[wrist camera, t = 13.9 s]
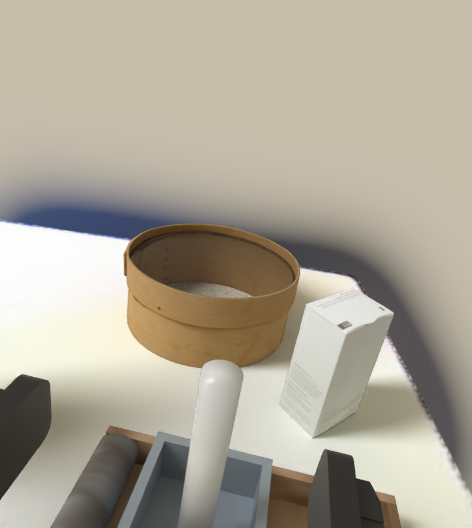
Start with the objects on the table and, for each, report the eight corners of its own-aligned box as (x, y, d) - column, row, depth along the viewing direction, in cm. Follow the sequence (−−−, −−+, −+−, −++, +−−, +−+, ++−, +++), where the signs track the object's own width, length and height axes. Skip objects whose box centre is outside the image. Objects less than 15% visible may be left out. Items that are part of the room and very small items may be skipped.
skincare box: (322, 384, 55) (353, 284, 48) (359, 415, 51) (398, 310, 44) (275, 407, 50) (303, 299, 43) (312, 443, 46) (349, 330, 39)
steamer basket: (84, 326, 58) (86, 251, 53) (180, 268, 79) (187, 211, 75) (245, 400, 50) (263, 320, 46) (303, 314, 72) (320, 254, 67)
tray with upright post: (89, 634, 27) (92, 433, 19) (154, 471, 38) (171, 304, 31) (241, 678, 26) (305, 486, 19) (262, 499, 37) (306, 334, 30)
